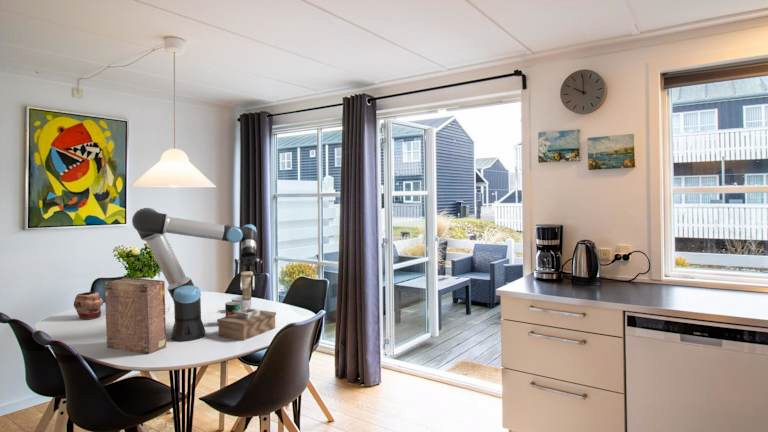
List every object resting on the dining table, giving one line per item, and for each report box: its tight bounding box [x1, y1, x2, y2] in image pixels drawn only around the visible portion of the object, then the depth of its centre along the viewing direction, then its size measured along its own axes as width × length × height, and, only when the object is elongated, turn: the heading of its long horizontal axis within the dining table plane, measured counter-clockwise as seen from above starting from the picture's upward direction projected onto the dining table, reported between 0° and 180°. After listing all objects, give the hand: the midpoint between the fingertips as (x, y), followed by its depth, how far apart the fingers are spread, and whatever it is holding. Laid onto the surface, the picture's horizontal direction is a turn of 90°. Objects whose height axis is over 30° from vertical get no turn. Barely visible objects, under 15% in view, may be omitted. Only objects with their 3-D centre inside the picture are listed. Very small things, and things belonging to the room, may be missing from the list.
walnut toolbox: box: [216, 308, 277, 341], centre depth 229 cm, size 23×17×10 cm
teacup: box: [231, 295, 252, 310], centre depth 272 cm, size 14×11×8 cm
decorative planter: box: [73, 291, 104, 320], centre depth 257 cm, size 20×12×14 cm, turn 72°
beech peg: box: [241, 270, 254, 301], centre depth 228 cm, size 6×6×14 cm
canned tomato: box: [224, 300, 241, 317], centre depth 244 cm, size 8×8×11 cm
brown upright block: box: [104, 277, 167, 355], centre depth 206 cm, size 25×9×30 cm, turn 69°
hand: (247, 288), depth 225 cm, fingers open, 5 cm apart
